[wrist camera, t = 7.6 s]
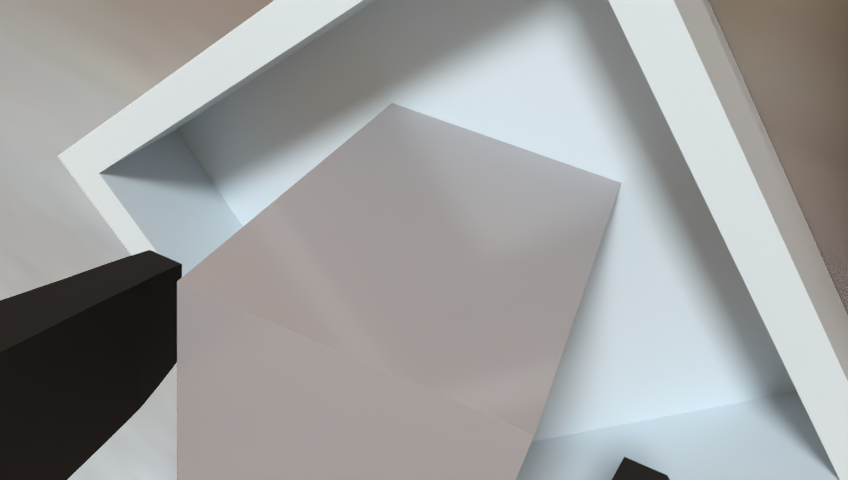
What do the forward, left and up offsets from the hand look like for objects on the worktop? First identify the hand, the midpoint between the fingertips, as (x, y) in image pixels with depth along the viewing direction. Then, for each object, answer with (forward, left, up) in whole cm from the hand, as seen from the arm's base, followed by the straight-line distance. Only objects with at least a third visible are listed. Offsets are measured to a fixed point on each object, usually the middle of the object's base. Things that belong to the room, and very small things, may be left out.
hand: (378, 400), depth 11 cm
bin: (0, 0, -5) cm, 5 cm away
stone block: (0, 0, -5) cm, 5 cm away
